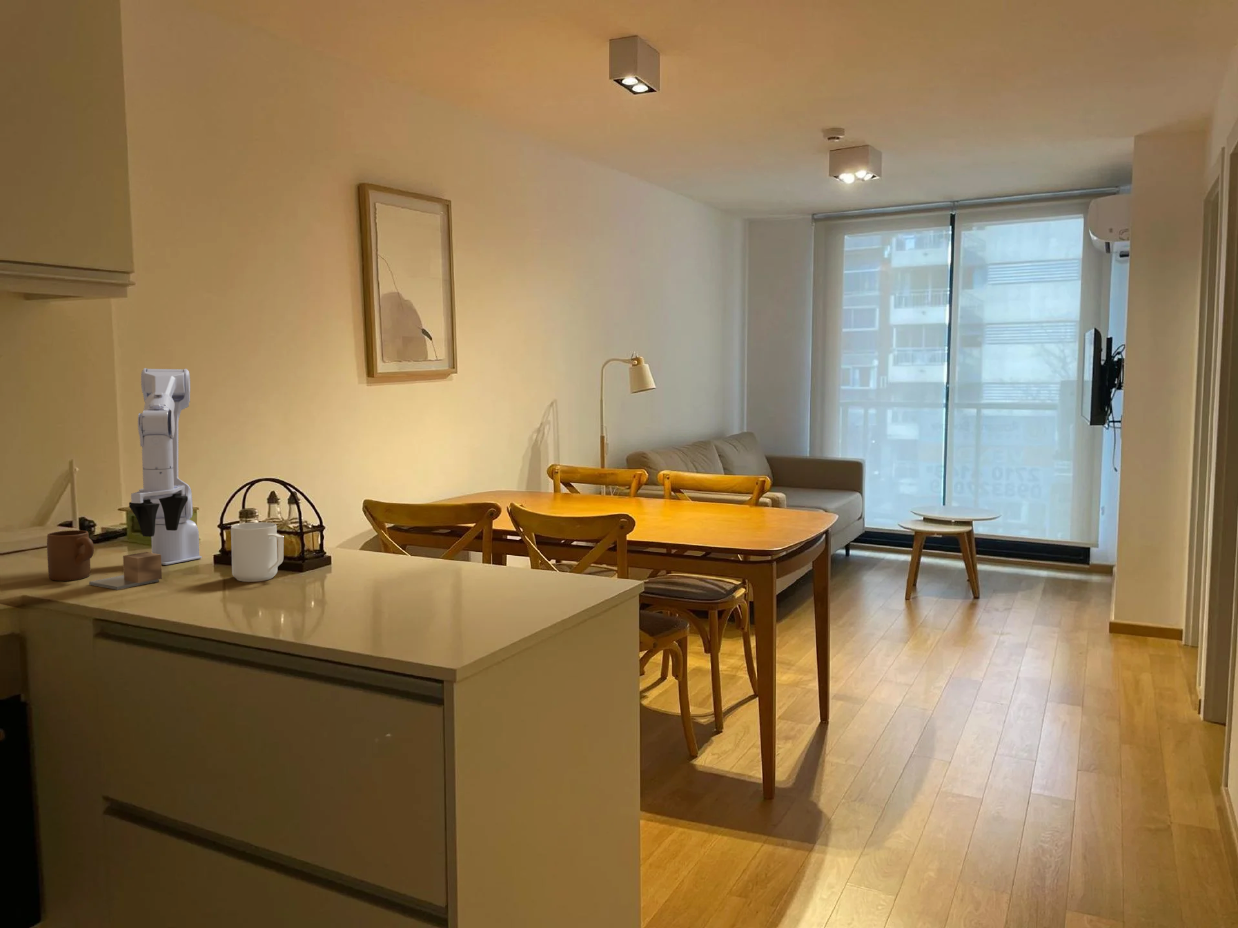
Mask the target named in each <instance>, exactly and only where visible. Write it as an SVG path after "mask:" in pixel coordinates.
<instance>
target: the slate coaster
mask: <svg viewBox="0 0 1238 928" xmlns="http://www.w3.org/2000/svg"><path fill="white" fill-rule="evenodd" d="M159 580H160V579H157V580H152V581H147V582H141V583H136V582H131V581H126V580H124V574H121V575H117V576H111V577H105V578H102V579H96V580H92V581H91V580H90V581H88V583H89V586H95V587H101V588H104V589H105V588H107V589H111V590H116V591H118V590H123V589H127V588H132V587H138V586H142V585H147V584H152V583H156V582H157V583H159V582H160V581H159Z"/></svg>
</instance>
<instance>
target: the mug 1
mask: <svg viewBox="0 0 1238 928" xmlns="http://www.w3.org/2000/svg"><path fill="white" fill-rule="evenodd" d="M94 552H95V545H94V542H93V540H92V539H91V538H90V535H89V531H87V530H83V529H82V530H81V529H80V530H78V529H77V530H76V529H75V530H74V529H73V530H61V531H53V532H49V533H47V535H46V554H47V557H46V558H47V568H48V569H47V570H48V571H47V572H48V578H49V579H50V580H52V581H57V582H67V581H76V580H81V579H83V580H84V579H86V578H88V577H89V576H90V575H91V559H92V557H93V555H94Z"/></svg>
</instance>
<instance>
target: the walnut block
mask: <svg viewBox="0 0 1238 928" xmlns="http://www.w3.org/2000/svg"><path fill="white" fill-rule="evenodd" d="M122 558H123V559H122V561H123V575H124V580H126V581H131V582H136V583H141V582H147V581H152V580H157V579H159V580H162V578H163V577H162V573H163V571H162V564H161V555H160V554H155V553H152V552H148V551H144V552H138V553H134V554H133V553H132V554H131V553H130V554H126V555H125V554H124V555H123V557H122Z"/></svg>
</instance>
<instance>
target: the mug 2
mask: <svg viewBox="0 0 1238 928" xmlns="http://www.w3.org/2000/svg"><path fill="white" fill-rule="evenodd" d="M277 527H278V526H277V524H276V523H275V522H262V521H259V522H255V521H254V522H243V523H237V524H234V525H232V526H231V527H230V537H231V538H230V540H231V541H230V543H231V546H230V547H231V574H232V576H233V577H234V578H235V579H236V580H237V581H239V582H243V583H244V582H248V583H250V582H251V583H254V582H264V581H268V580H271V579H273V578H274V576H276V575H277V573H278V567H279V566H280V565H281V564H283V561H284V558H285V557H284V552H285V551H284V545H285V543H284V541H285V539H284V537H285V536H284V535H281V534H280V533H278V532H277V531H278V530H277Z"/></svg>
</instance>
